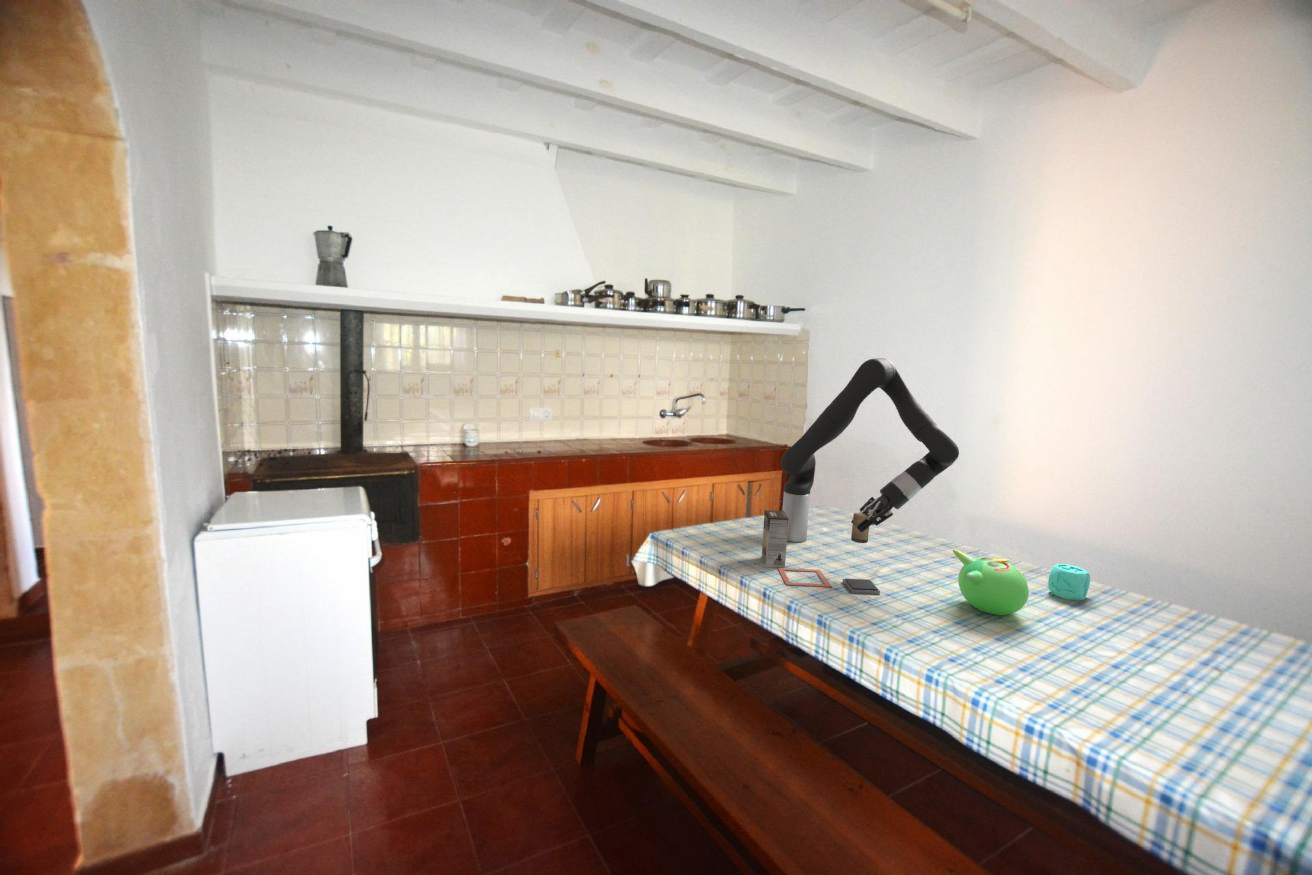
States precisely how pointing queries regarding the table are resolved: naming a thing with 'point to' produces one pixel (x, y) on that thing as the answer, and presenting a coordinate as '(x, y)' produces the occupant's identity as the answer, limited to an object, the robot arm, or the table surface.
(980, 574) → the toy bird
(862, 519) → the stamp
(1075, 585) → the decorative dice
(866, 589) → the ink pad
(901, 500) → the robot arm
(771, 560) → the coffee box
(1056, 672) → the table surface
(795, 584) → the marked square
